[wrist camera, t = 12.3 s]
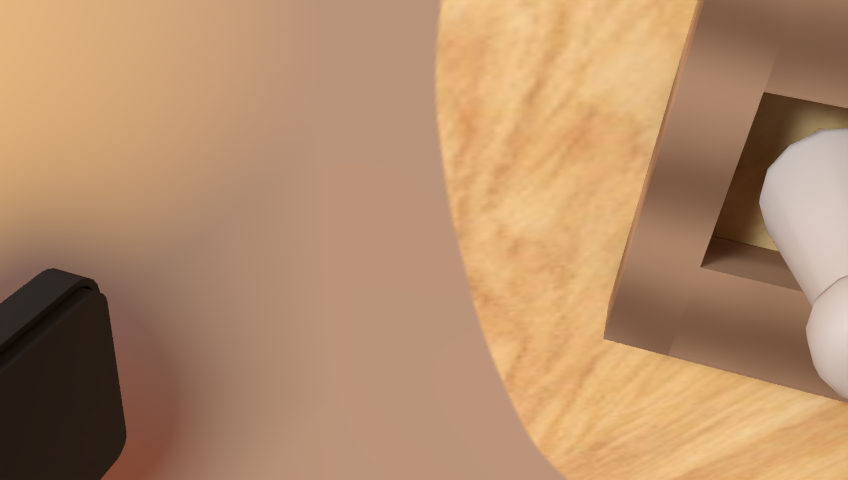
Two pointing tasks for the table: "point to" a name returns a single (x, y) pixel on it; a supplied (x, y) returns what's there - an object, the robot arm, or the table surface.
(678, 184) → the notched board
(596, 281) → the table surface
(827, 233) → the salt shaker
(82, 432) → the robot arm
